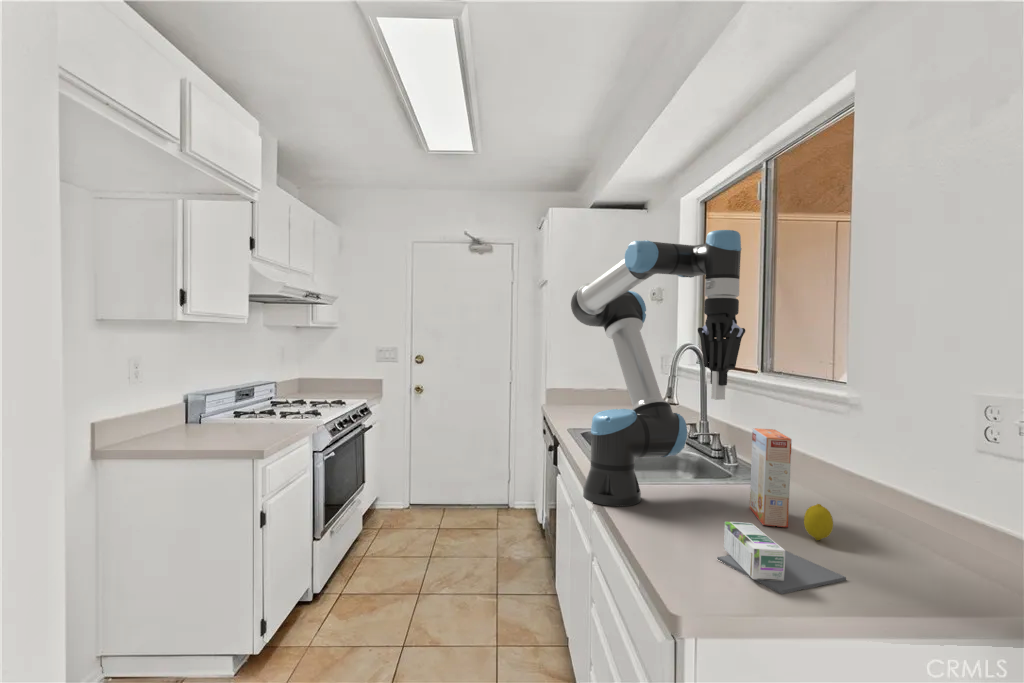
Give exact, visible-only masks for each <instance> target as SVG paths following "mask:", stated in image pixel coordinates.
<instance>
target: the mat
mask: <svg viewBox="0 0 1024 683" xmlns="http://www.w3.org/2000/svg"><path fill="white" fill-rule="evenodd" d="M784 550H785V549H784ZM717 559H718V560H720V561H722V562H723V563H722V562H721V563H722V564H724V563H725V564H727V565H728V566H727V565H726V566H727V567H729V566H731V567H732V569H733V568H734V569H733V570H735V569H736V570H735V571H737V572H739V573H741V574H742V575H744V574H745V576H746V575H747V576H746V577H748V576H749V577H748V578H750V579H752V578H751V577H750V575H749V574H748V573H747V572H746V571H745V570H744V569H743V568H742V567H741V566H740V565H739V564H738V563H737V562H736V561H735V560H734V559H733V558H732V557H731V556H730V555H729V554H727V555H722V556H717V558H716V560H717ZM718 560H717V561H718ZM720 561H719V562H720ZM725 564H724V565H725ZM731 567H730V568H731ZM753 580H754V581H755V582H757V583H760V584H761V585H764V586H766V587H767V588H769V589H771V590H773V591H775V592H777V593H779V594H780V595H782V594H783V595H785V594H789V593H792V592H797V590H798V591H802V590H801V589H803V590H807V589H811V588H815V587H821V586H826V585H829V584H830V585H831V584H834V583H840V582H845V581H847V576H845V575H843V574H841V573H838V572H836V571H834V570H831V569H829V568H827V567H825V566H823V565H820V564H817V563H815V562H813V561H811V560H809V559H806V558H804V557H802V556H799V555H797V554H795V553H792V552H790V551H787V550H785V571H784V581H771V580H761V579H753ZM788 592H789V593H788Z"/></svg>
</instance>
